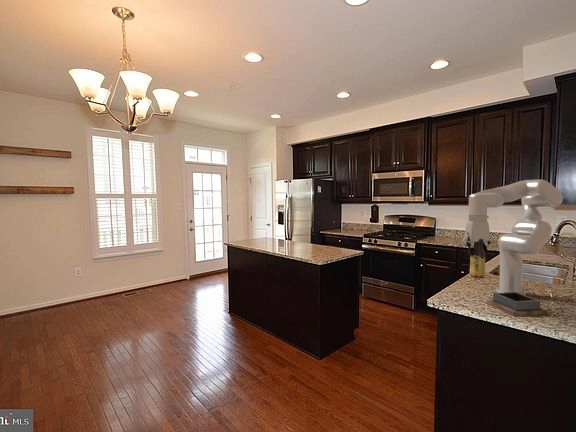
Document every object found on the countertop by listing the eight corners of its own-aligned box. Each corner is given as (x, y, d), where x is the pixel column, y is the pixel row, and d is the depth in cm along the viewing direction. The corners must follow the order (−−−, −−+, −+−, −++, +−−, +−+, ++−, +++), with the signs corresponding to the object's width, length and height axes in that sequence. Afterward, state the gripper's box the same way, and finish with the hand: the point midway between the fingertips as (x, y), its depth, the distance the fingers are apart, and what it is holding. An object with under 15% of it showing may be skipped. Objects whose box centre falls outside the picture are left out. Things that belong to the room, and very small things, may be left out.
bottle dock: (517, 301, 138) (517, 290, 138) (547, 314, 123) (548, 301, 123) (486, 303, 137) (486, 292, 137) (513, 316, 122) (513, 303, 122)
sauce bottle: (466, 276, 145) (467, 237, 144) (478, 275, 146) (478, 236, 144) (476, 279, 139) (476, 239, 137) (488, 279, 139) (488, 238, 138)
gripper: (488, 217, 145) (488, 252, 146) (456, 219, 143) (456, 254, 144) (500, 218, 137) (500, 255, 138) (466, 220, 136) (466, 257, 137)
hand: (477, 254), depth 141 cm, fingers closed on sauce bottle, 6 cm apart
